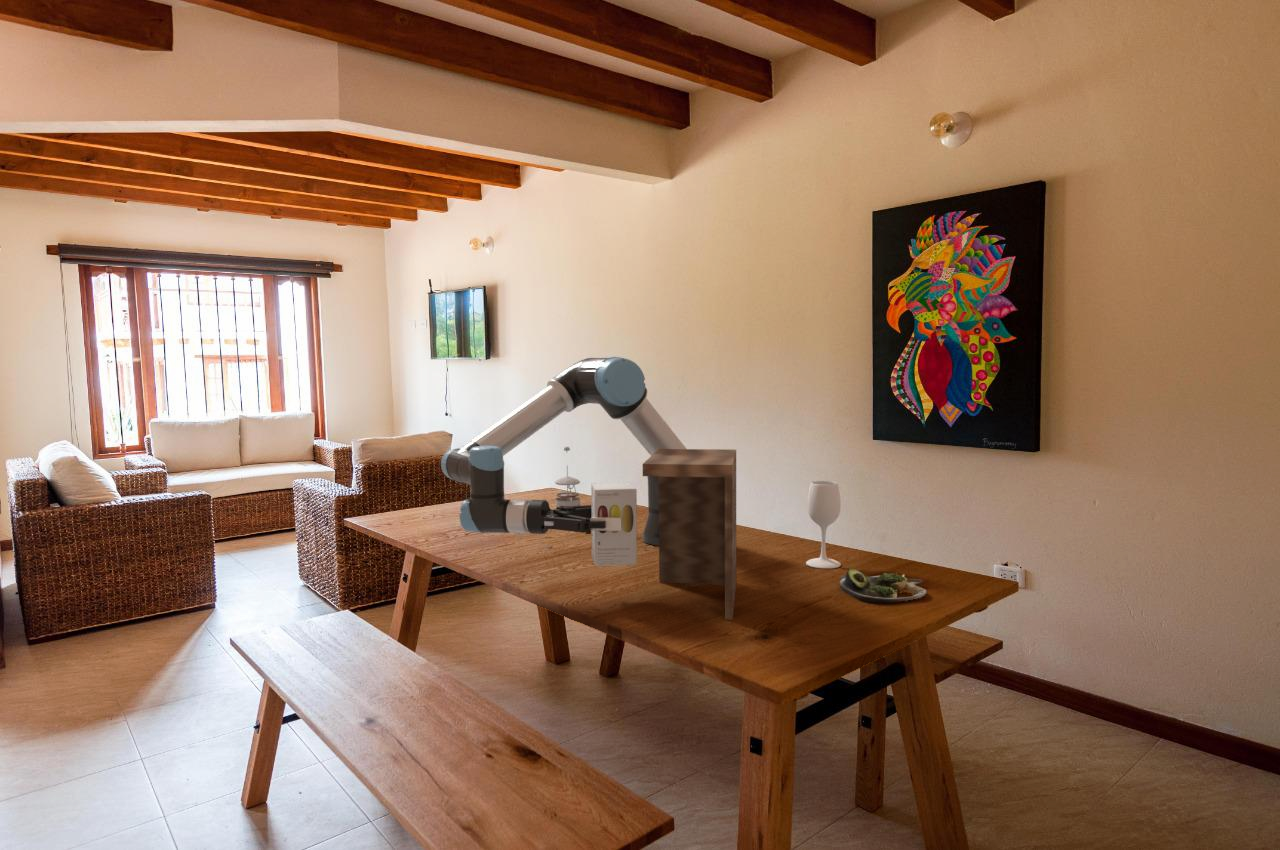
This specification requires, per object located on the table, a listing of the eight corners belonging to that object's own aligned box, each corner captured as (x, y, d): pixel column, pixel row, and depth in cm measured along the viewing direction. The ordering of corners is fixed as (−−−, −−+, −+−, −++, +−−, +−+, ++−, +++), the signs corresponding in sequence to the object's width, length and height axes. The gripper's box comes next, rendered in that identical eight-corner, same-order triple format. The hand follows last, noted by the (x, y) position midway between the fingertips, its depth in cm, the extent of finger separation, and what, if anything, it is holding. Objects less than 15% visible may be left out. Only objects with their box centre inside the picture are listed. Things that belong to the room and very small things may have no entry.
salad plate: (902, 578, 186) (903, 559, 186) (948, 600, 169) (948, 580, 168) (828, 584, 182) (828, 565, 181) (867, 608, 164) (867, 586, 164)
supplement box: (594, 567, 167) (592, 489, 165) (590, 556, 176) (589, 482, 174) (638, 565, 168) (637, 487, 166) (632, 554, 177) (631, 481, 176)
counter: (644, 616, 159) (642, 463, 157) (660, 580, 185) (659, 449, 182) (732, 619, 157) (732, 464, 154) (736, 583, 182) (736, 449, 180)
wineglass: (841, 569, 193) (842, 485, 191) (806, 568, 194) (806, 485, 193) (840, 560, 201) (840, 480, 199) (805, 559, 203) (806, 479, 201)
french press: (549, 527, 245) (547, 448, 243) (559, 519, 257) (557, 444, 255) (579, 527, 244) (578, 448, 242) (588, 520, 255) (586, 444, 253)
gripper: (544, 522, 186) (634, 523, 182) (513, 545, 163) (616, 548, 159) (543, 491, 185) (634, 492, 182) (512, 510, 162) (616, 512, 159)
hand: (626, 518), depth 171 cm, fingers closed on supplement box, 11 cm apart
